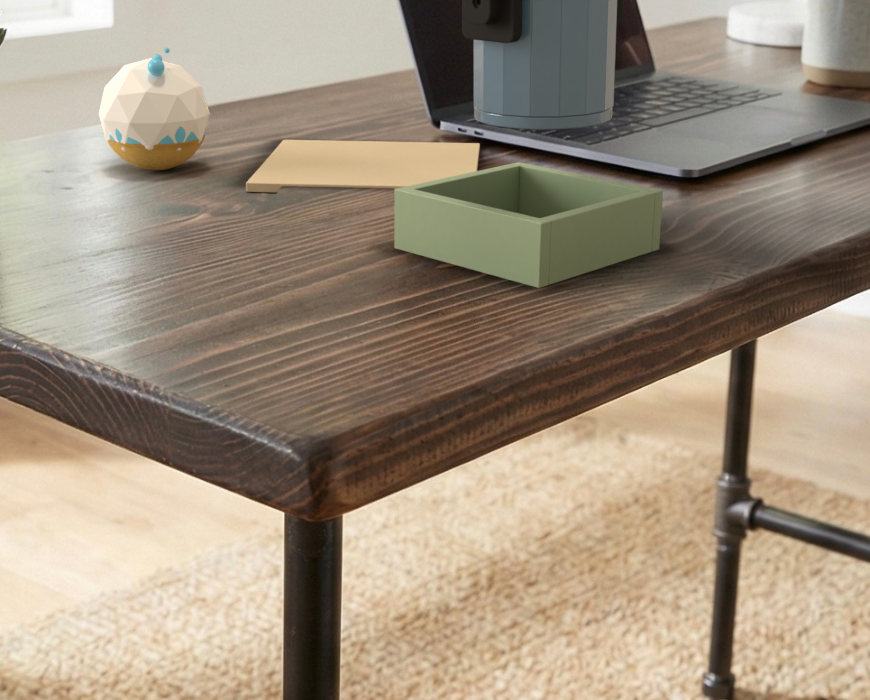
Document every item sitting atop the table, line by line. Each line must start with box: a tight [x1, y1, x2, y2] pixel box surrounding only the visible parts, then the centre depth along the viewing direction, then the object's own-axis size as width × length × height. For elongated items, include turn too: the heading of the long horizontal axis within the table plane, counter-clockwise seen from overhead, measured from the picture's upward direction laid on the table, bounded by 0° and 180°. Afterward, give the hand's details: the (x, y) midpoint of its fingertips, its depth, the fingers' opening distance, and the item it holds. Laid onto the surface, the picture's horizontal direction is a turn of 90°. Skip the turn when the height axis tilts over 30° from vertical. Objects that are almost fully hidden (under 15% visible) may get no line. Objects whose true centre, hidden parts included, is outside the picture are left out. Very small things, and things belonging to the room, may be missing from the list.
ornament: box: [98, 47, 211, 171], centre depth 84 cm, size 7×7×8 cm
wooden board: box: [245, 139, 481, 194], centre depth 86 cm, size 14×14×1 cm
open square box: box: [393, 161, 664, 289], centre depth 66 cm, size 10×10×4 cm
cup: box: [473, 0, 617, 131], centre depth 63 cm, size 7×7×9 cm
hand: (544, 29), depth 63 cm, fingers closed on cup, 6 cm apart
